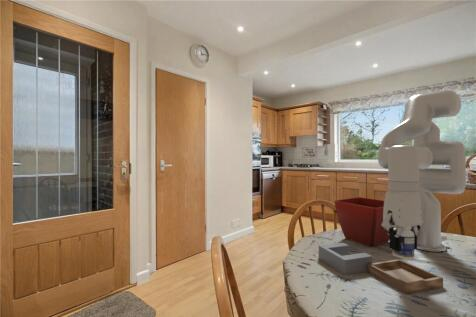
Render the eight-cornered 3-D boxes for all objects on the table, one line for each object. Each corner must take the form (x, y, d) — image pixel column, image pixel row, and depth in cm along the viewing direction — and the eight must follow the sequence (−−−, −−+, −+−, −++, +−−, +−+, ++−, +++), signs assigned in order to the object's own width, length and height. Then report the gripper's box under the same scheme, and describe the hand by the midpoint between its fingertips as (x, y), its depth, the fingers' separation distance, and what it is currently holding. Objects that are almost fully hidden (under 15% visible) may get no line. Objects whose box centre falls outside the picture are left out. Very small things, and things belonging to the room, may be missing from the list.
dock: (342, 254, 89) (343, 242, 89) (372, 270, 76) (372, 256, 76) (318, 258, 86) (318, 245, 86) (344, 274, 73) (344, 260, 73)
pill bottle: (387, 252, 73) (388, 220, 73) (404, 252, 74) (404, 220, 74) (401, 260, 68) (401, 225, 68) (419, 259, 68) (419, 225, 68)
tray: (399, 266, 79) (399, 259, 79) (443, 286, 67) (443, 277, 67) (367, 272, 75) (367, 264, 75) (407, 294, 63) (407, 284, 63)
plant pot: (375, 251, 92) (375, 207, 92) (333, 237, 108) (333, 200, 108) (401, 243, 102) (401, 203, 102) (358, 231, 118) (358, 196, 118)
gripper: (412, 185, 77) (412, 242, 77) (369, 186, 72) (369, 247, 72) (437, 188, 70) (437, 250, 70) (392, 189, 65) (392, 257, 65)
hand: (403, 248), depth 71 cm, fingers closed on pill bottle, 5 cm apart
